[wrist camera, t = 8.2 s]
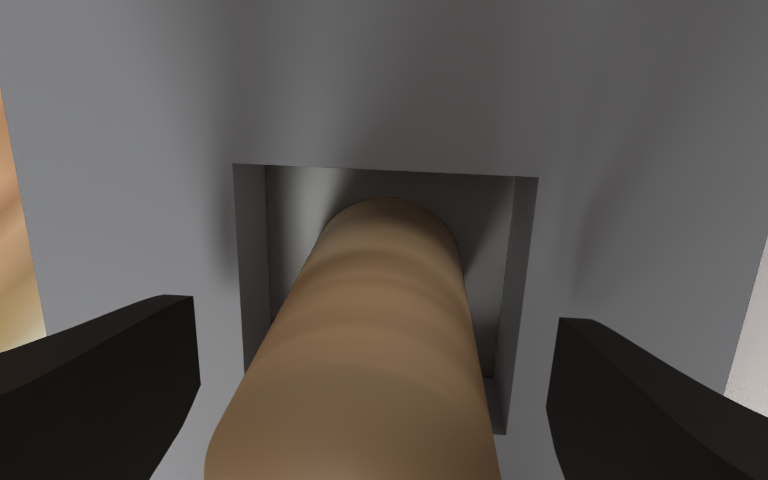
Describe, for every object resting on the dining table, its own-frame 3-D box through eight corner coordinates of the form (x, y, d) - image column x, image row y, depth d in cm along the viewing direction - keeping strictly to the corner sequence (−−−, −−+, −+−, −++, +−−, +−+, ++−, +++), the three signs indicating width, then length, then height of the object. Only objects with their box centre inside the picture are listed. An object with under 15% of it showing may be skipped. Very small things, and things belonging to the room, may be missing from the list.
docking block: (633, 521, 17) (668, 596, 15) (130, 483, 18) (87, 549, 16) (768, -57, 12) (855, -84, 10) (49, -75, 13) (-36, -103, 10)
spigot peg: (449, 342, 16) (476, 619, 8) (308, 325, 16) (204, 583, 8) (470, 206, 14) (528, 384, 7) (317, 189, 14) (201, 345, 7)
